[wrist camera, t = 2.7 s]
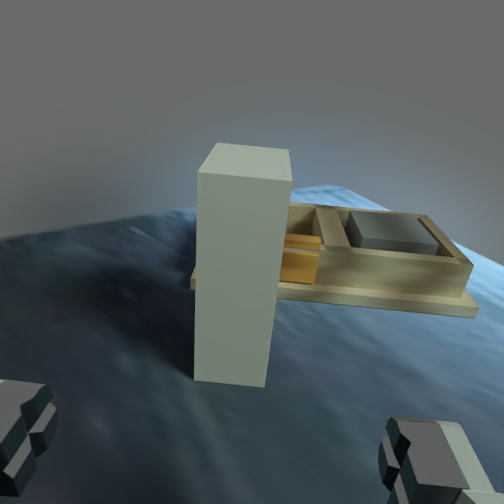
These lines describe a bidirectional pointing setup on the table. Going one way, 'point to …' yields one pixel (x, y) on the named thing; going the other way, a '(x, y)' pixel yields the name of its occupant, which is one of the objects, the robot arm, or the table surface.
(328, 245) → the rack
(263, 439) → the table surface
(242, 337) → the white carton
